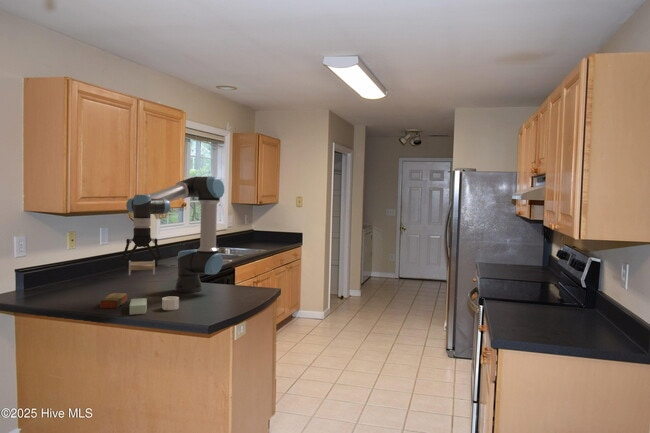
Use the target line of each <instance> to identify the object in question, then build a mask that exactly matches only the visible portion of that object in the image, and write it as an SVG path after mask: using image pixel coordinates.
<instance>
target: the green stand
mask: <svg viewBox="0 0 650 433" xmlns="http://www.w3.org/2000/svg"><path fill="white" fill-rule="evenodd" d="M147 300H148V298H147V297H146V298H145V297H144V298H131V299H130V303H129V315H144V314H145V315H146V314H147V307H148V302H147Z"/></svg>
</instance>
